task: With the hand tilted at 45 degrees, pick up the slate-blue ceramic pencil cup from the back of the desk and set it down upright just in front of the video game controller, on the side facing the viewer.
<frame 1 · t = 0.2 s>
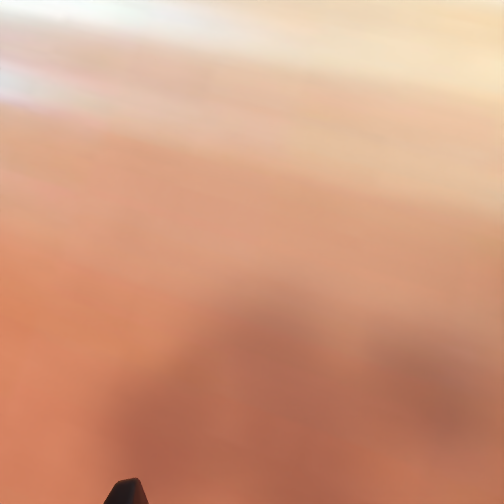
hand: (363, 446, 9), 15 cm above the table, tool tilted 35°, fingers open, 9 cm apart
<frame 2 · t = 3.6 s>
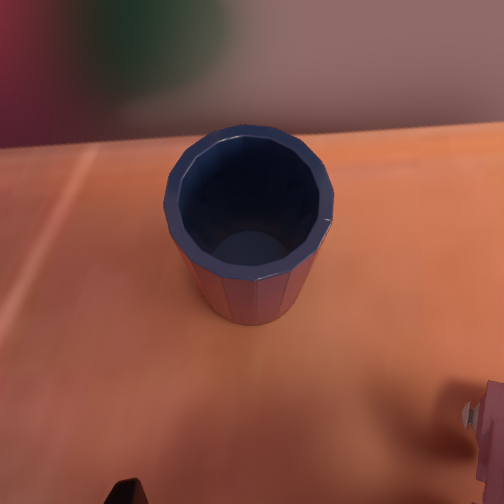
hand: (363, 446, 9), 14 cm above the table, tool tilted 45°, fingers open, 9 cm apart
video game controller: (485, 493, 21), on the table
pencil cup: (251, 275, 24), on the table
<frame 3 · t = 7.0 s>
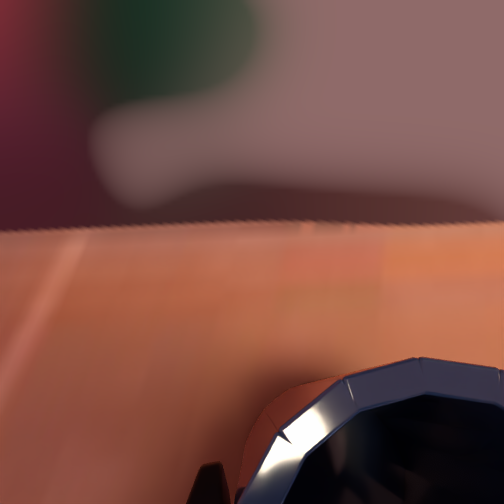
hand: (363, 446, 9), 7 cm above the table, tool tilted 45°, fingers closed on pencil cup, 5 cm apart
pencil cup: (326, 468, 15), on the table, touching gripper
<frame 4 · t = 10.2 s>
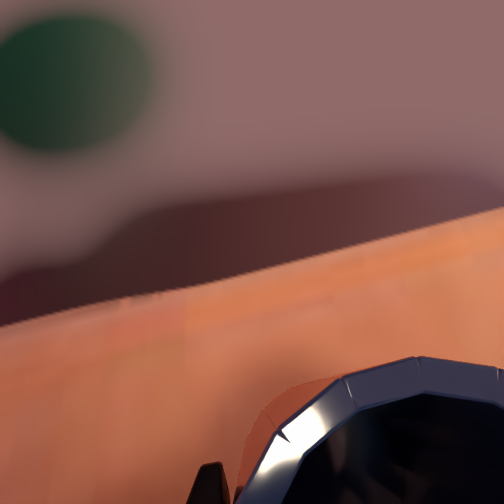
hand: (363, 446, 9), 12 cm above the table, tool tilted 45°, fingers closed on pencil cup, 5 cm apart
pencil cup: (326, 468, 15), point 6 cm above the table, touching gripper
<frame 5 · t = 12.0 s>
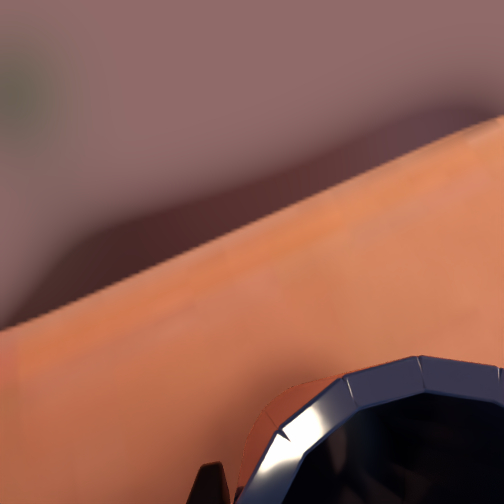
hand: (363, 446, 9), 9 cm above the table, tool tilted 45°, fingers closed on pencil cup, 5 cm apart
pencil cup: (326, 468, 15), point 2 cm above the table, touching gripper
when the fingers open (7 cm above the table, at t = 13.3 s): pencil cup stays where it is, on the table.
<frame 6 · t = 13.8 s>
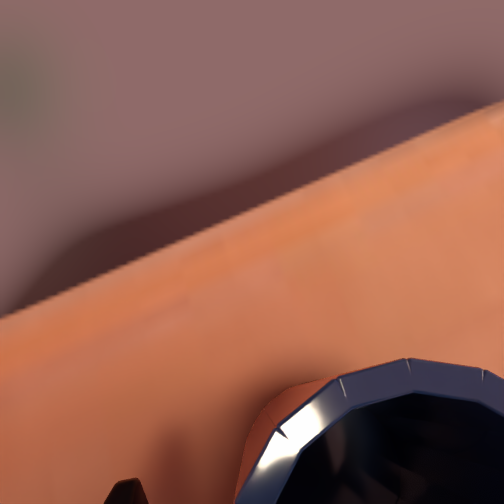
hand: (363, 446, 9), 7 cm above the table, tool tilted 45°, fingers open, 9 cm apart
pencil cup: (324, 466, 15), on the table
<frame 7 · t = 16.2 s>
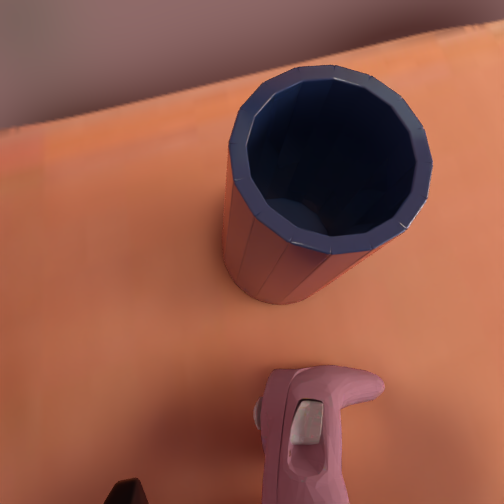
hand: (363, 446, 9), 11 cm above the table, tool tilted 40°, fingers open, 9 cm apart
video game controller: (310, 480, 19), on the table
pencil cup: (279, 248, 21), on the table
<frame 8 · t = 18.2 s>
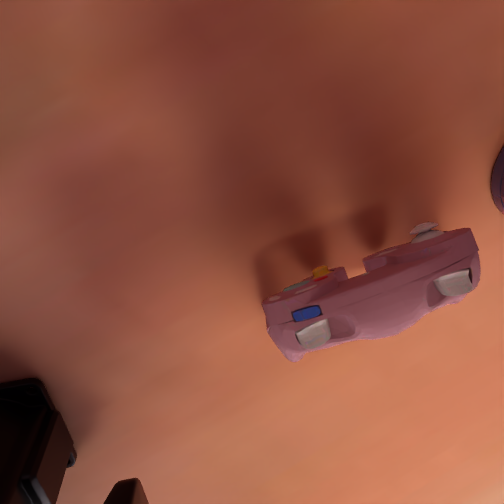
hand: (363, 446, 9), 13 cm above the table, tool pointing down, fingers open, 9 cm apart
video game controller: (349, 270, 22), on the table
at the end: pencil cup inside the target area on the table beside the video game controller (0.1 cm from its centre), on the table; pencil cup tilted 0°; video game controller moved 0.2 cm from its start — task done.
